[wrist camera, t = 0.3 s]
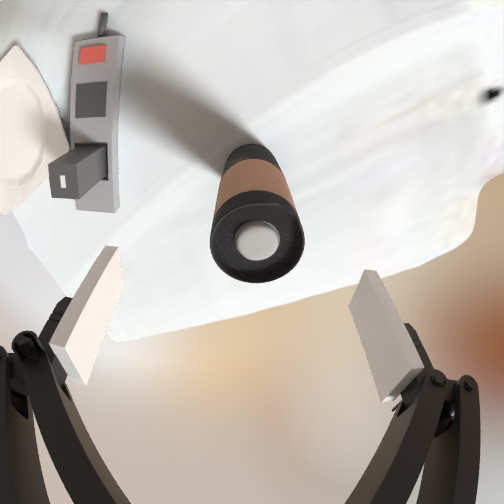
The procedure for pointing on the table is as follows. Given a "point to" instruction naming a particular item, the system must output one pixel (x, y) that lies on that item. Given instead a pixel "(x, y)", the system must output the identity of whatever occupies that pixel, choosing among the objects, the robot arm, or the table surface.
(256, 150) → the travel mug
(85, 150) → the block
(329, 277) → the table surface
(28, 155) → the plate
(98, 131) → the power strip
